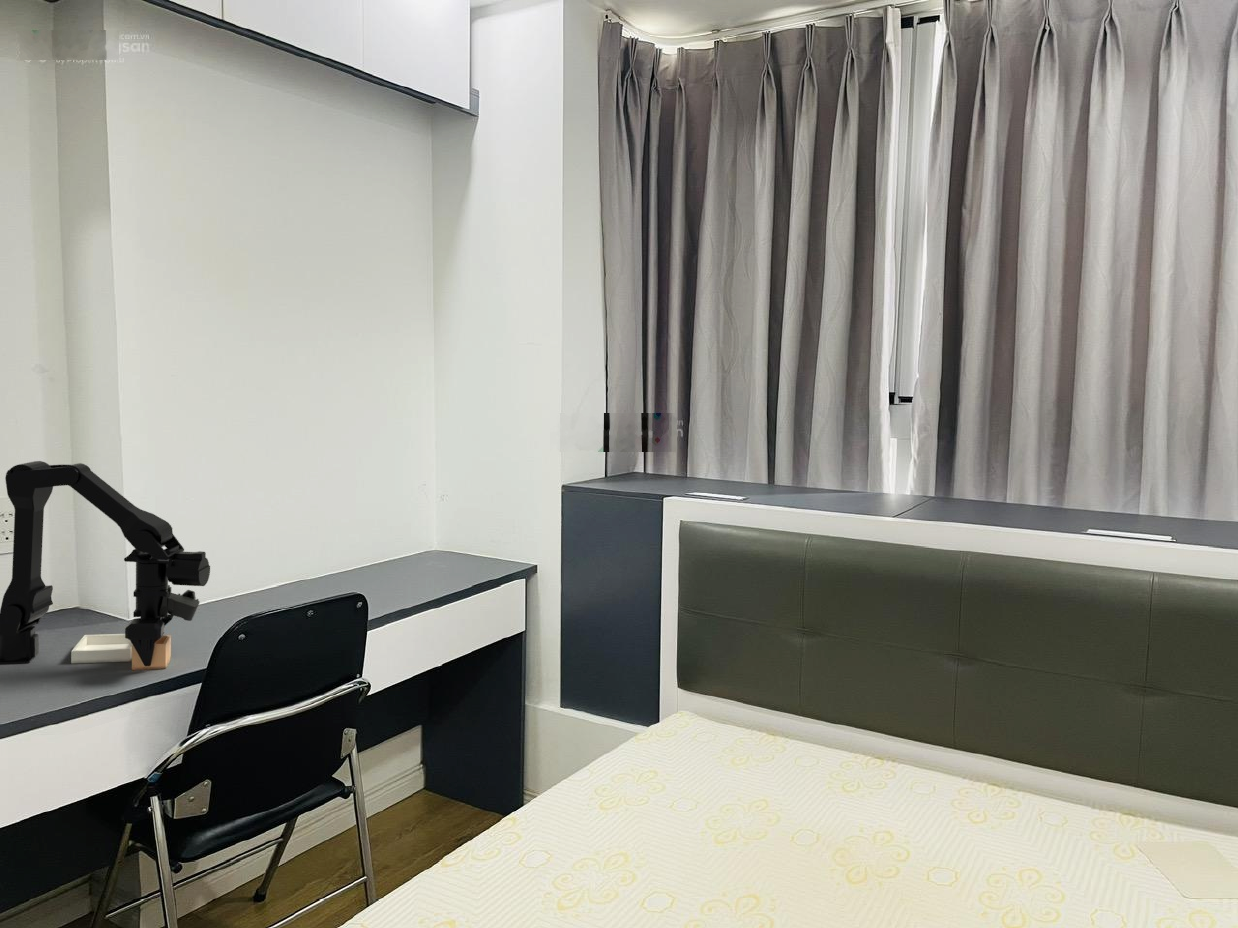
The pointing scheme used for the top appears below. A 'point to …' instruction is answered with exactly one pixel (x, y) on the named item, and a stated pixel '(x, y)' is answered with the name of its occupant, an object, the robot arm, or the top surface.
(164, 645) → the small crate
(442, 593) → the top surface
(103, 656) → the cream square tray
